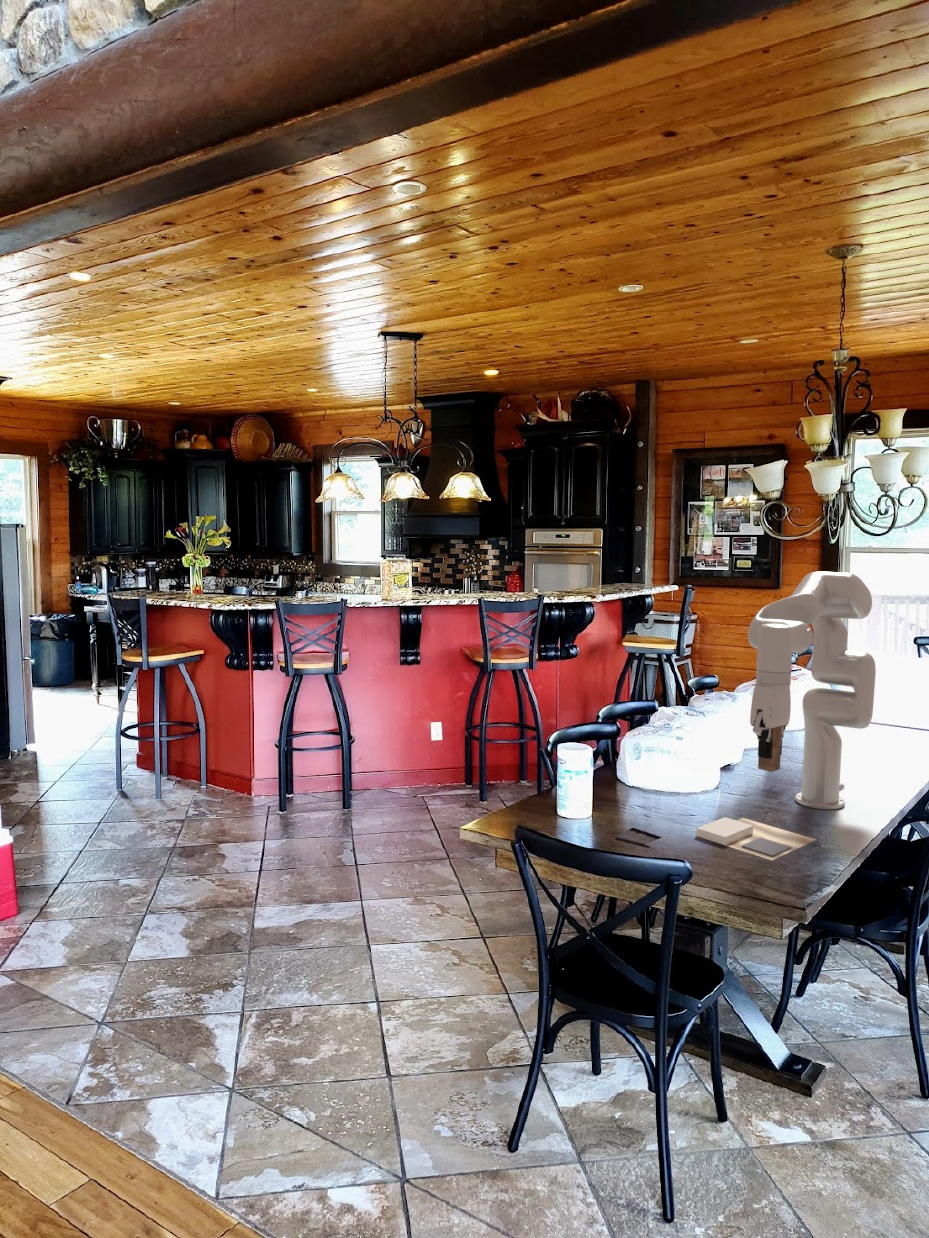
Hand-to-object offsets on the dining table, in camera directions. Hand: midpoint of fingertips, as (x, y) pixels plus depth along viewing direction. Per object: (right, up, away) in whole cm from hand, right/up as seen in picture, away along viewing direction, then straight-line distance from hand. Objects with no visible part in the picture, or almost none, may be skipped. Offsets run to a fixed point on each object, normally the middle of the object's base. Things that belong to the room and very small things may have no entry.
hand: (769, 755), depth 210 cm
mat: (0, -22, +2) cm, 22 cm away
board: (0, -22, +9) cm, 24 cm away
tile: (-3, -19, +14) cm, 24 cm away
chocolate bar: (-25, -22, +15) cm, 37 cm away
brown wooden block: (0, -3, 0) cm, 3 cm away
